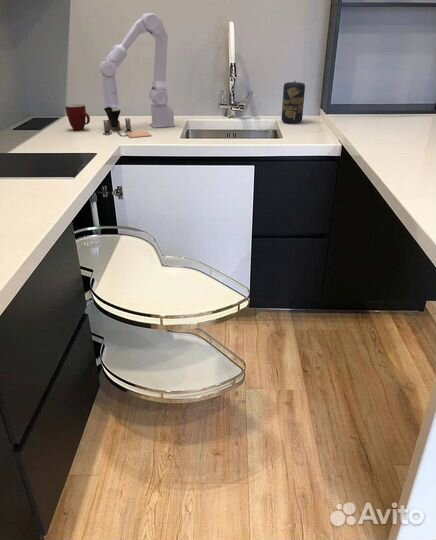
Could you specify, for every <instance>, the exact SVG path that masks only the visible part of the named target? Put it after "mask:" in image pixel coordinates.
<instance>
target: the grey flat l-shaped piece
mask: <svg viewBox="0 0 436 540" xmlns="http://www.w3.org/2000/svg"><path fill="white" fill-rule="evenodd" d="M114 132H115V133H116V132H117V133H118V134H119V135H120V136H124V137H128V135H126V134H123V135H122V134H121V133H120V132H119V130H114ZM117 133H116V134H117ZM118 134H117V135H118ZM119 135H118V136H119ZM120 136H119V137H120Z"/></svg>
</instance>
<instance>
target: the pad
mask: <svg viewBox="0 0 436 540" xmlns="http://www.w3.org/2000/svg"><path fill="white" fill-rule="evenodd" d="M124 135H128V136H127V137H128V138H129V139H137V138H146V137H147V138H148V137H152V134H151V133H149V132H148V131H147V130H138V131H136V130H135V131H133V132H125V133H124Z"/></svg>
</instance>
